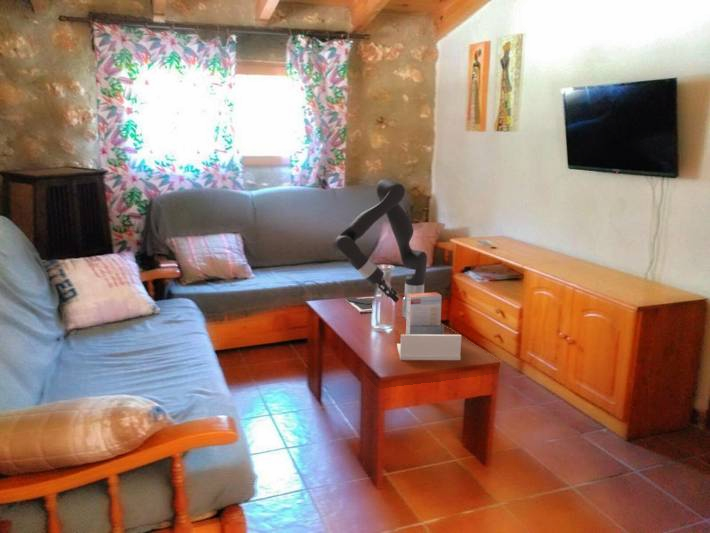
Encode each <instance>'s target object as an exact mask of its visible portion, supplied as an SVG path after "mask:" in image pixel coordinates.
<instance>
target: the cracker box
mask: <svg viewBox="0 0 710 533" xmlns="http://www.w3.org/2000/svg"><path fill="white" fill-rule="evenodd" d="M442 296H443V295H441V294H440V293H439V292H435V291H434V292H424V293H416V294H407V315H406V318H405V319H406V320H405V321H406V322H405V324H406V325H405V326H406V327H405V334H410V325H441V320H442V319H441V318H442V317H441V316H442V298H443V297H442Z"/></svg>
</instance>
